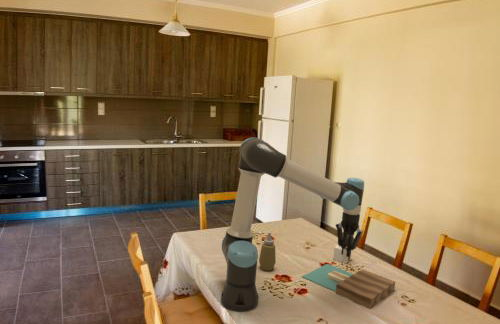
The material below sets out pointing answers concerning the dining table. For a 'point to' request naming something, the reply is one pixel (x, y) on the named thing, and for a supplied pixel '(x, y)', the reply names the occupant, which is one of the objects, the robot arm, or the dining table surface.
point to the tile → (337, 276)
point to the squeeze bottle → (267, 254)
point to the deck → (365, 288)
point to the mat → (325, 276)
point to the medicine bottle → (339, 253)
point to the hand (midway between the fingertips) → (344, 262)
